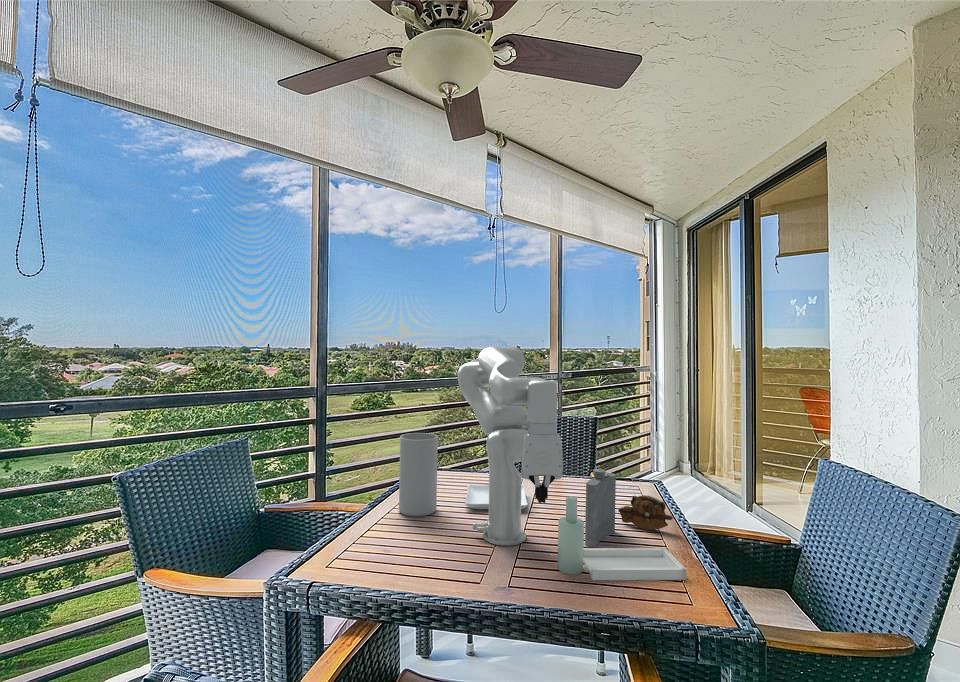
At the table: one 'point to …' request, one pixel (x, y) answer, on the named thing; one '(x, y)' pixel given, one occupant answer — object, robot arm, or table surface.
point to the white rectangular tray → (632, 564)
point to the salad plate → (485, 497)
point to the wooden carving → (645, 513)
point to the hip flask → (600, 507)
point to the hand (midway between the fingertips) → (541, 501)
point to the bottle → (570, 540)
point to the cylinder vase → (418, 474)
